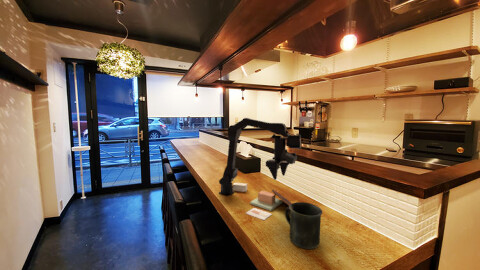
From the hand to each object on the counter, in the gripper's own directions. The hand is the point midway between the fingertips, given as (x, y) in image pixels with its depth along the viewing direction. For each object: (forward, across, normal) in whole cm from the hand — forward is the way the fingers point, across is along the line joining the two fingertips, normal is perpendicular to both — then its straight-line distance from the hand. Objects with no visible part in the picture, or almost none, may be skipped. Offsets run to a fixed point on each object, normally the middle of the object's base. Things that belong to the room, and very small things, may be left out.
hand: (279, 177), depth 103 cm
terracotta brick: (+12, -6, +4) cm, 14 cm away
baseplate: (+13, -6, +4) cm, 15 cm away
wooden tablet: (+13, -3, -11) cm, 18 cm away
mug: (+14, -24, -21) cm, 34 cm away
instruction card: (+13, -18, +1) cm, 22 cm away
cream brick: (+13, 0, +26) cm, 29 cm away
